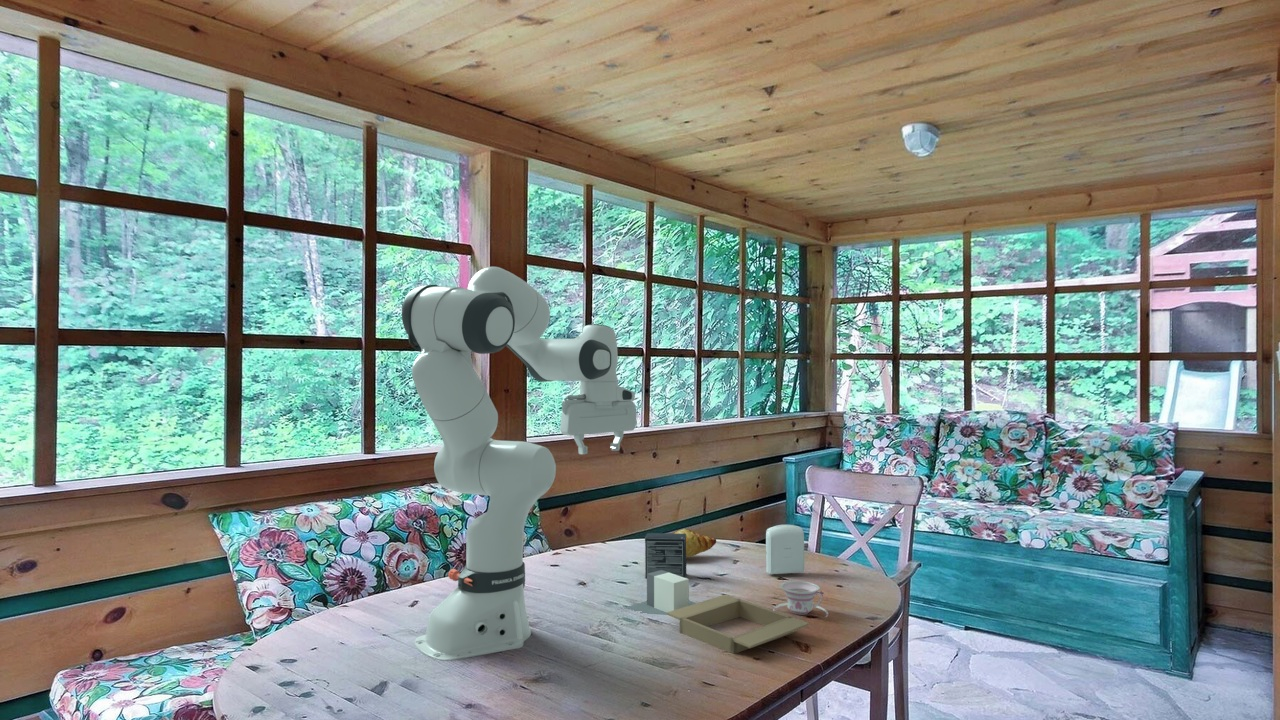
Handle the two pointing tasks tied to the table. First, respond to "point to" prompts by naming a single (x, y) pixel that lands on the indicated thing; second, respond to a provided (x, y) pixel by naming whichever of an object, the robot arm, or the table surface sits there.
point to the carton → (729, 608)
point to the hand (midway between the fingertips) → (599, 452)
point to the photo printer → (784, 549)
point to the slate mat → (649, 608)
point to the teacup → (801, 597)
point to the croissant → (696, 542)
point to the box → (667, 591)
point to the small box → (665, 553)
